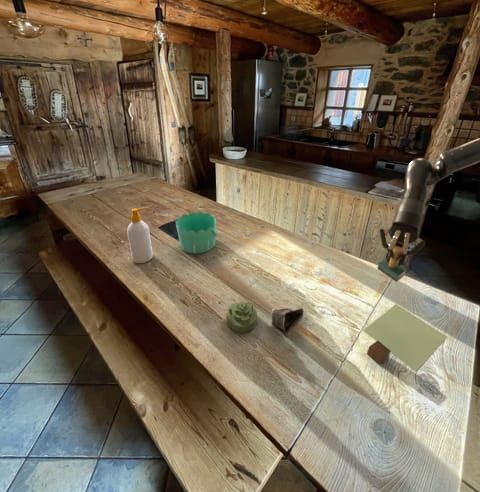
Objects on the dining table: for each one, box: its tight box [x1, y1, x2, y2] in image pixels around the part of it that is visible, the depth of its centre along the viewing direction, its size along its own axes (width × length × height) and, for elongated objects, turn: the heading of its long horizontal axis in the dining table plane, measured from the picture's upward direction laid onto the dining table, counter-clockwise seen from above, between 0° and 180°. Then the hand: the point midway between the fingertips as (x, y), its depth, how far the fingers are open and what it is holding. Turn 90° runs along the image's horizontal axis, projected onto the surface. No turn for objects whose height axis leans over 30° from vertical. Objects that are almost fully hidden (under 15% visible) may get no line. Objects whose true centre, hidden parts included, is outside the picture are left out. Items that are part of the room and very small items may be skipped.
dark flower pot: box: [270, 307, 305, 336], centre depth 87 cm, size 10×7×12 cm
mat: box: [362, 303, 448, 373], centre depth 83 cm, size 20×16×1 cm
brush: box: [376, 245, 407, 283], centre depth 86 cm, size 4×7×11 cm, turn 30°
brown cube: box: [366, 340, 391, 366], centre depth 75 cm, size 4×4×4 cm
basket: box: [175, 211, 219, 254], centre depth 125 cm, size 19×18×13 cm
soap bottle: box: [126, 207, 154, 264], centre depth 113 cm, size 9×9×24 cm
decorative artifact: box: [225, 301, 258, 333], centre depth 86 cm, size 10×7×10 cm
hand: (393, 263), depth 83 cm, fingers closed on brush, 2 cm apart
